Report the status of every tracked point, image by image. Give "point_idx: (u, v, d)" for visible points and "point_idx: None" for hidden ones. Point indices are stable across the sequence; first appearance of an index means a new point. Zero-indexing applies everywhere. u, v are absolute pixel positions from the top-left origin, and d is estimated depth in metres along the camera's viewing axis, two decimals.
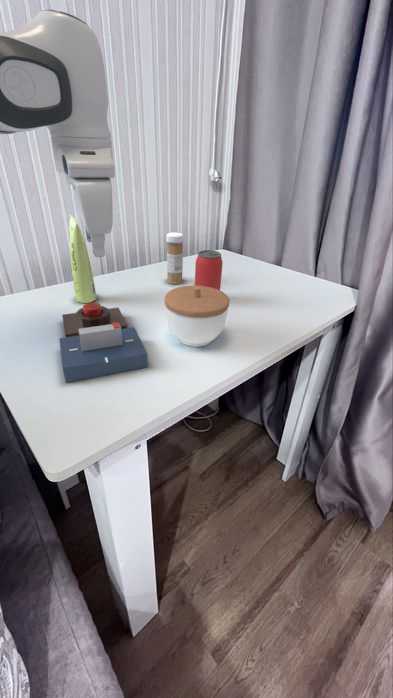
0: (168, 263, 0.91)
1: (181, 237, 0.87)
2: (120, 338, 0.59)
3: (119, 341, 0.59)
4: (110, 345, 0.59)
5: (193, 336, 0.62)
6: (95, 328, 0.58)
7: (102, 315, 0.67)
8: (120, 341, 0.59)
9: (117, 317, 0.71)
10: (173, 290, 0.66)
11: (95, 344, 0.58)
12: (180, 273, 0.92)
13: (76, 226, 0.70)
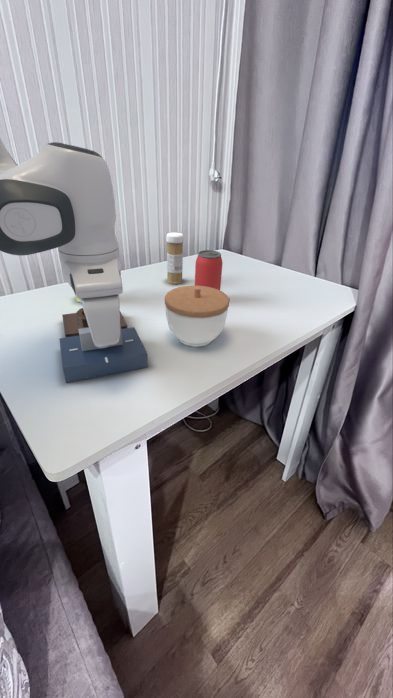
0: (168, 263, 0.91)
1: (181, 237, 0.87)
2: (120, 338, 0.59)
3: (119, 341, 0.59)
4: (110, 345, 0.59)
5: (193, 336, 0.62)
6: None
7: None
8: (120, 341, 0.59)
9: None
10: (173, 290, 0.66)
11: None
12: (180, 273, 0.92)
13: None
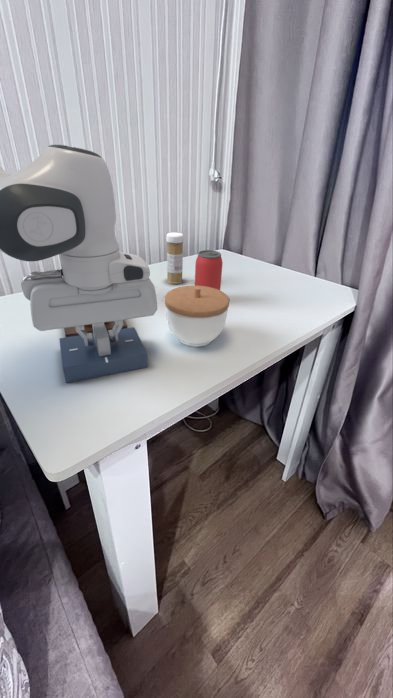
0: (168, 263, 0.91)
1: (181, 237, 0.87)
2: None
3: None
4: None
5: (193, 336, 0.62)
6: (99, 330, 0.57)
7: None
8: None
9: None
10: (173, 290, 0.66)
11: None
12: (180, 273, 0.92)
13: None
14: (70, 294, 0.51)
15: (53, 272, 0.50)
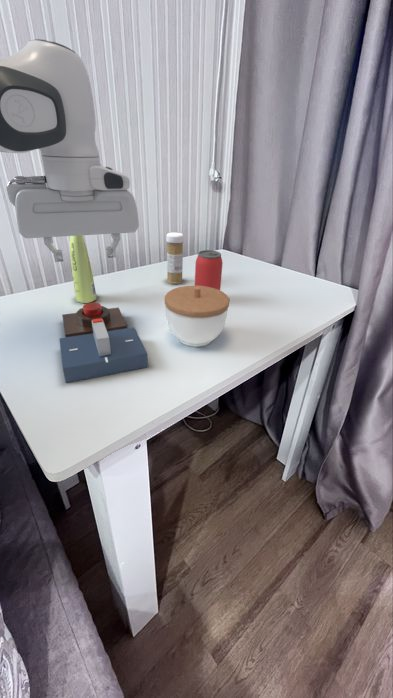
0: (168, 263, 0.91)
1: (181, 237, 0.87)
2: None
3: None
4: None
5: (193, 336, 0.62)
6: (99, 330, 0.57)
7: (102, 315, 0.67)
8: None
9: (117, 317, 0.71)
10: (173, 290, 0.66)
11: None
12: (180, 273, 0.92)
13: None
14: (53, 200, 0.54)
15: (37, 177, 0.53)
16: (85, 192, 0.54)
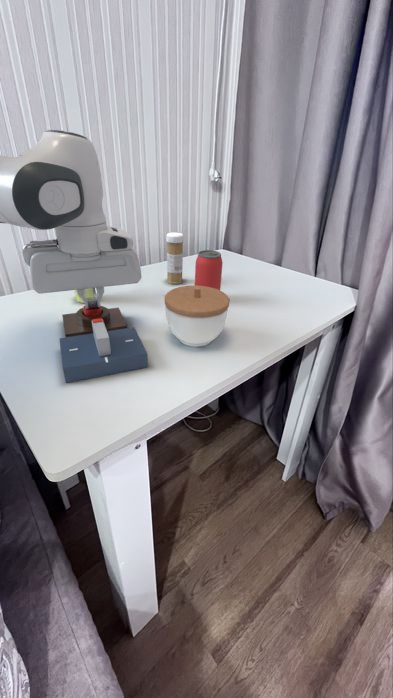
0: (168, 263, 0.91)
1: (181, 237, 0.87)
2: None
3: None
4: None
5: (193, 336, 0.62)
6: (99, 330, 0.57)
7: (102, 315, 0.67)
8: None
9: (117, 317, 0.71)
10: (173, 290, 0.66)
11: None
12: (180, 273, 0.92)
13: None
14: (64, 261, 0.59)
15: (49, 241, 0.58)
16: (93, 253, 0.59)
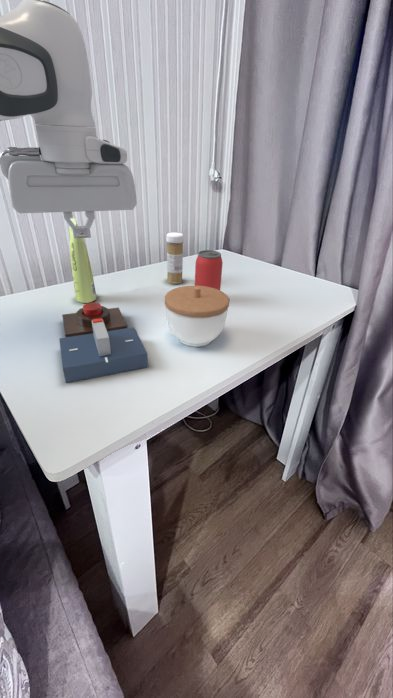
0: (168, 263, 0.91)
1: (181, 237, 0.87)
2: None
3: None
4: None
5: (193, 336, 0.62)
6: (99, 330, 0.57)
7: (102, 315, 0.67)
8: None
9: (117, 317, 0.71)
10: (173, 290, 0.66)
11: None
12: (180, 273, 0.92)
13: None
14: (48, 173, 0.52)
15: (31, 149, 0.51)
16: (81, 165, 0.52)
